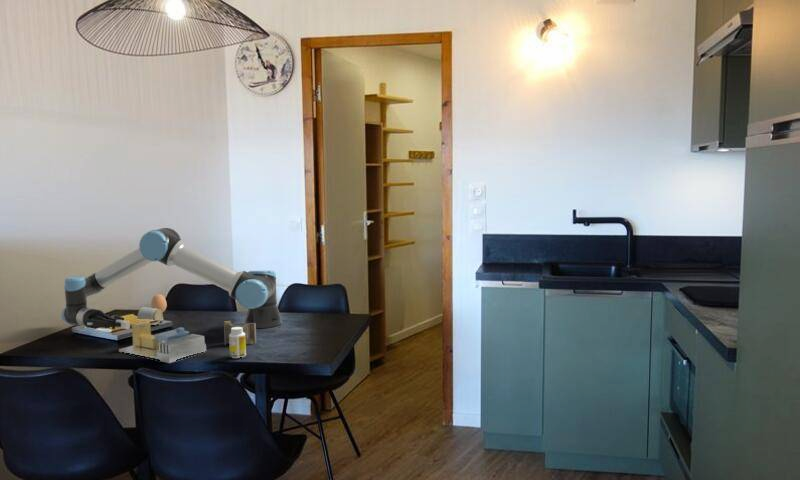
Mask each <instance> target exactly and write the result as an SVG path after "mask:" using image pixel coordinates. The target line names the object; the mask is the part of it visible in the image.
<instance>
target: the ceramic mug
mask: <svg viewBox="0 0 800 480" xmlns="http://www.w3.org/2000/svg"><path fill="white" fill-rule="evenodd" d="M136 318H138V319H150V320H151V319H153V320H163V321H164V315H163V313H162V311H161V310H159V309H156V308H152V307H148V306H147V307H146V306H142V307H141V308H139V310H138V312H137V316H136Z"/></svg>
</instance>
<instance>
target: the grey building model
mask: <svg viewBox="0 0 800 480" xmlns="http://www.w3.org/2000/svg"><path fill="white" fill-rule="evenodd" d="M153 335H154V337H155V339H158V340H162V343H159V347H158V348H154V349H152V348H147V347H143V346H135V345H133V344H132V345H130V346H126V347H122V348H118V352H119V353H122V352H124V353H123V354H126V353H130V354H129V355H131V354H135V355H140V356H145V357H150V358H155V359H159V360H160V361H159V362H163V363H167V364H172V363H174V362H177V361H176V360H177V359H180V358H183V357H186V356H189V355H193V354H197V353H201V352H204V353H206V352H207V344H206V341H205V335H202V334H201V335H200V334H195V333H192V334H190V331H188V330H185V327H181V326H180V327H176V329H171V330H166V331H164V332H160V333H156V334H153ZM205 351H206V352H205ZM201 354H202V353H201ZM135 355H134V356H135ZM140 356H139V357H140Z"/></svg>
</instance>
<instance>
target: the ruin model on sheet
mask: <svg viewBox="0 0 800 480" xmlns="http://www.w3.org/2000/svg"><path fill="white" fill-rule="evenodd" d="M223 322H224V325H223V332H224V333H223V334H224V339H223V340H224V346H226V345H227V344H229V334H230V333H231V328H233V327H242V328H243V332H244V333H245V339H246V345H255V344H256V343H257V328H256V323H249V324H245V323H231V320H227V321H225V320H224V321H223Z"/></svg>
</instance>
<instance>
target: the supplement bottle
mask: <svg viewBox="0 0 800 480" xmlns="http://www.w3.org/2000/svg"><path fill="white" fill-rule="evenodd" d="M228 344H229V357H230V358H231V357H232V359H241V358H240V357H242V358H244V357H246V356H247V344H246V339H245V333H244V332H243V328H242V327H233V328H231V333H230V334H229V343H228Z"/></svg>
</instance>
